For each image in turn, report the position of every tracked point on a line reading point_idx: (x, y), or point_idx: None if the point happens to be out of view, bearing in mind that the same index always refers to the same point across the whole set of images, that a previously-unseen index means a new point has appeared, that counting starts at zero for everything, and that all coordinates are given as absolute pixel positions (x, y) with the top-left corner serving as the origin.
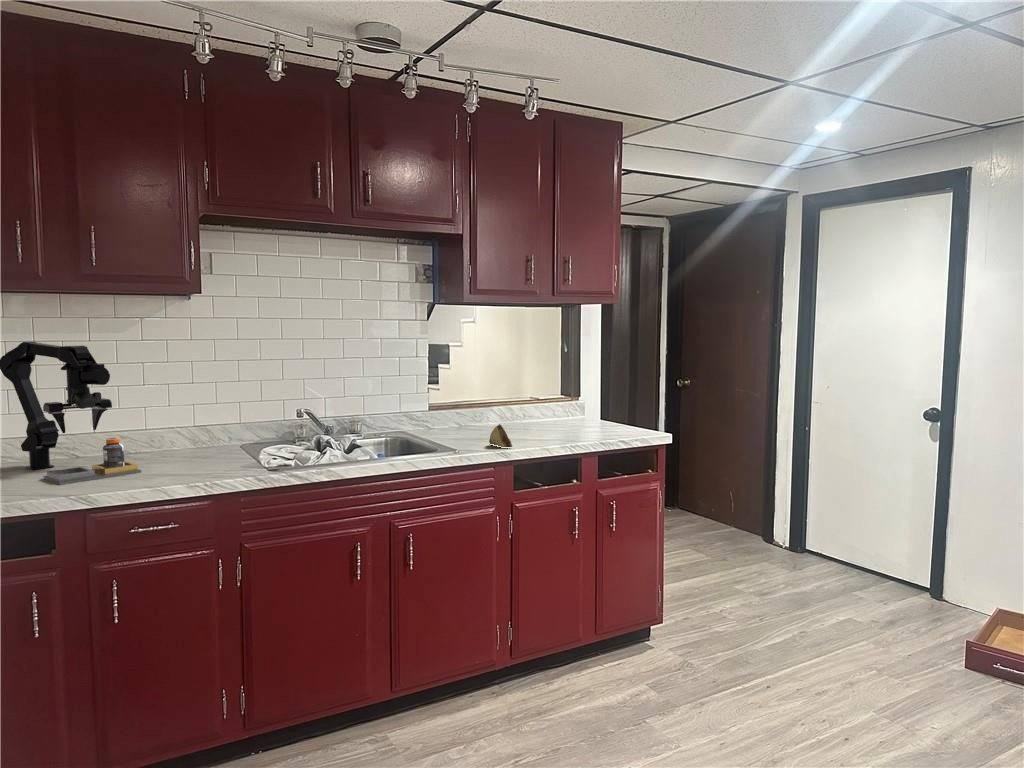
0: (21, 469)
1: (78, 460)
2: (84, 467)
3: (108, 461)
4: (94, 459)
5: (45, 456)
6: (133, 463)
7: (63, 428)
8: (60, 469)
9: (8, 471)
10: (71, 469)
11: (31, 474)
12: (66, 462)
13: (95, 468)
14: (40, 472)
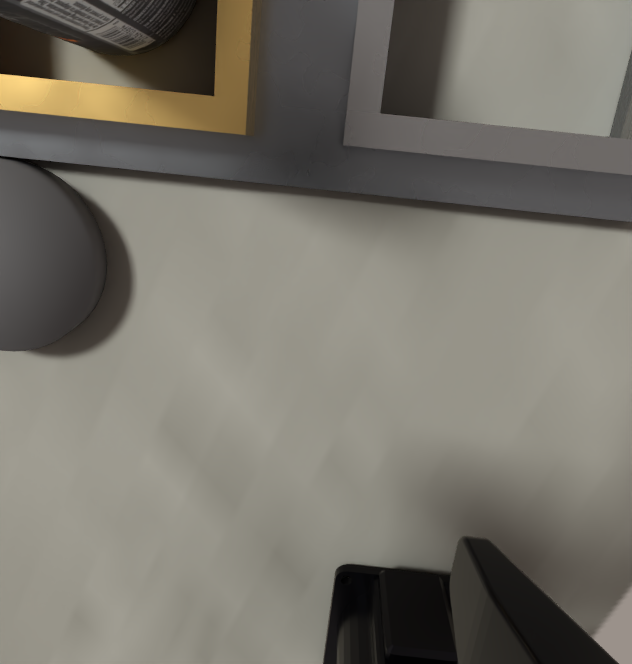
0: None
1: (121, 654)
2: (354, 59)
3: None
4: (31, 610)
5: (409, 637)
6: None
7: (534, 605)
8: (547, 160)
9: None
10: (457, 121)
11: (563, 462)
12: (202, 652)
13: (254, 37)
14: (486, 480)
